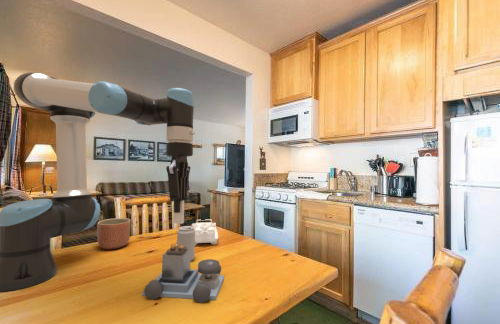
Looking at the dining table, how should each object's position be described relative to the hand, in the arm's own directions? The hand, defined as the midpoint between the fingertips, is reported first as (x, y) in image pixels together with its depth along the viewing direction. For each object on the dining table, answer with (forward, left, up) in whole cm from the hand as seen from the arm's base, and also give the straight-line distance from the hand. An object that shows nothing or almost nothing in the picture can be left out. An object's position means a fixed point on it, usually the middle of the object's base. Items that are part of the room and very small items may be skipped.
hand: (178, 222), depth 70 cm
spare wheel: (+9, 0, -15) cm, 18 cm away
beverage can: (-4, +19, -19) cm, 27 cm away
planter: (-39, +29, -19) cm, 52 cm away
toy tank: (-3, +40, -19) cm, 44 cm away
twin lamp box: (0, 0, -17) cm, 17 cm away
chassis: (+3, 0, -18) cm, 19 cm away
